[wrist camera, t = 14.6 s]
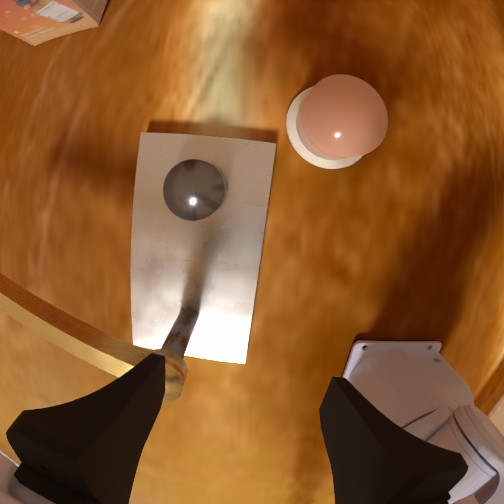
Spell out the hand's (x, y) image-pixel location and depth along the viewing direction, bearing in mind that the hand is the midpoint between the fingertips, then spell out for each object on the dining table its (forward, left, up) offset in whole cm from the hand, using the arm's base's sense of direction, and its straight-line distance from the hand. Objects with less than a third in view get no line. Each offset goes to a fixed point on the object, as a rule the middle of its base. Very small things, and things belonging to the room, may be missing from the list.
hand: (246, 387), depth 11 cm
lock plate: (+4, -3, -10) cm, 11 cm away
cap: (-4, -13, -10) cm, 16 cm away
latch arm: (+10, 0, -3) cm, 11 cm away
